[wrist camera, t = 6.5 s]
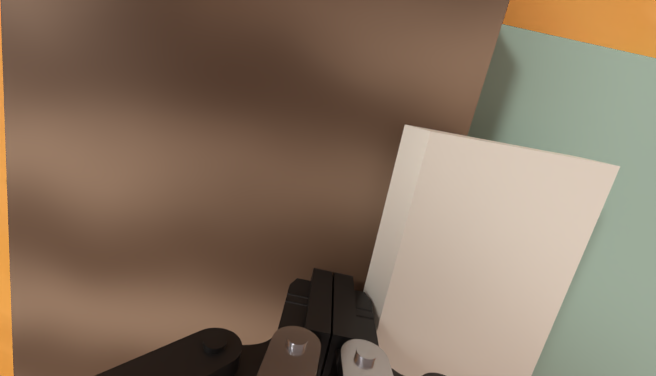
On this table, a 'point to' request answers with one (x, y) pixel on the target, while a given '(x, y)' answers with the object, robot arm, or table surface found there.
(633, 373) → the green mat
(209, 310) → the walnut deck
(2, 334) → the table surface
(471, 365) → the white flat block
